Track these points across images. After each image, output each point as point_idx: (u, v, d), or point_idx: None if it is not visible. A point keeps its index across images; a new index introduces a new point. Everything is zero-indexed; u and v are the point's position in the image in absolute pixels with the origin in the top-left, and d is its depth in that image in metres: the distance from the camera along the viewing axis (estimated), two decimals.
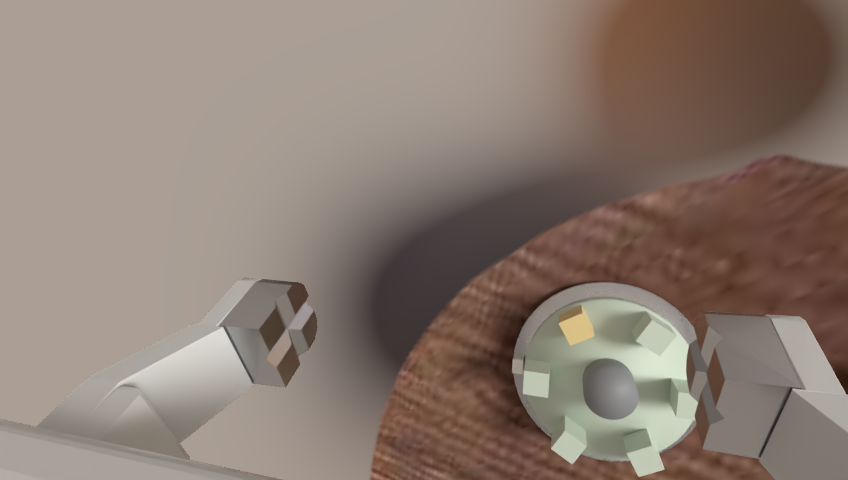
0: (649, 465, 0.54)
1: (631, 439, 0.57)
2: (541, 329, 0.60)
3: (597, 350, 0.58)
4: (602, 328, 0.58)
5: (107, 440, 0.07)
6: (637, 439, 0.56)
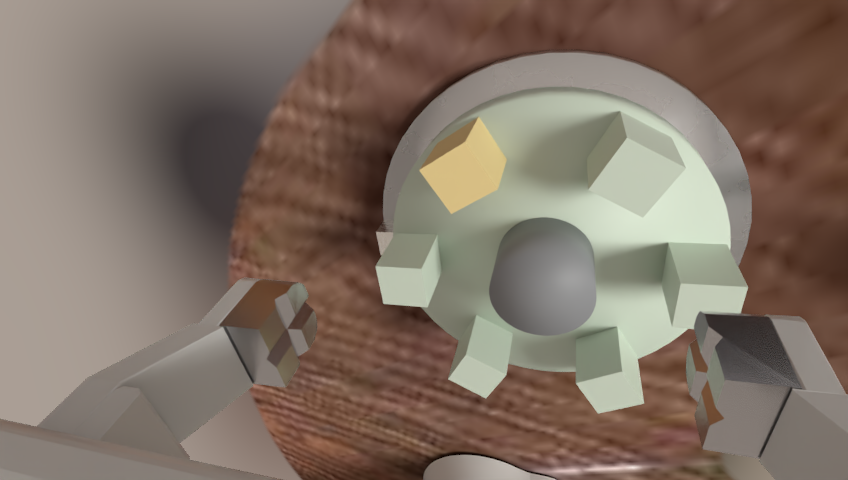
0: (617, 398, 0.29)
1: (588, 350, 0.31)
2: (409, 177, 0.30)
3: (520, 205, 0.28)
4: (527, 160, 0.27)
5: (107, 440, 0.07)
6: (598, 351, 0.31)
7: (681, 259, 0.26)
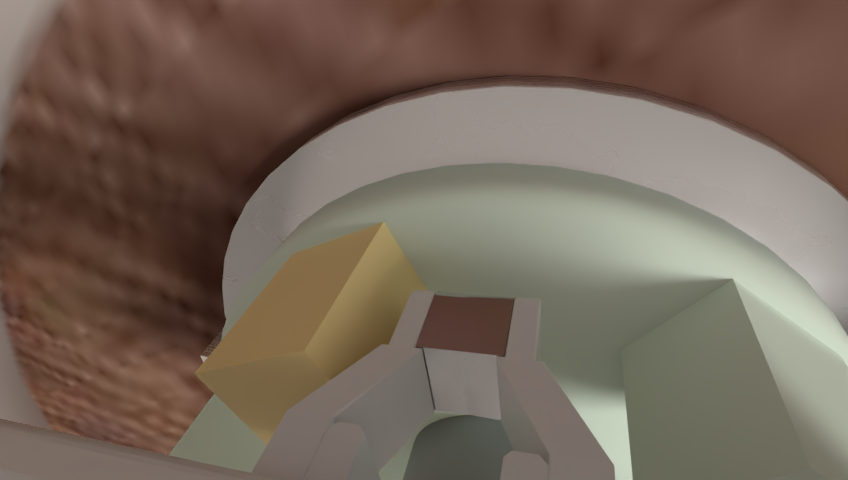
0: None
1: None
2: (241, 299, 0.14)
3: None
4: None
5: None
6: None
7: None
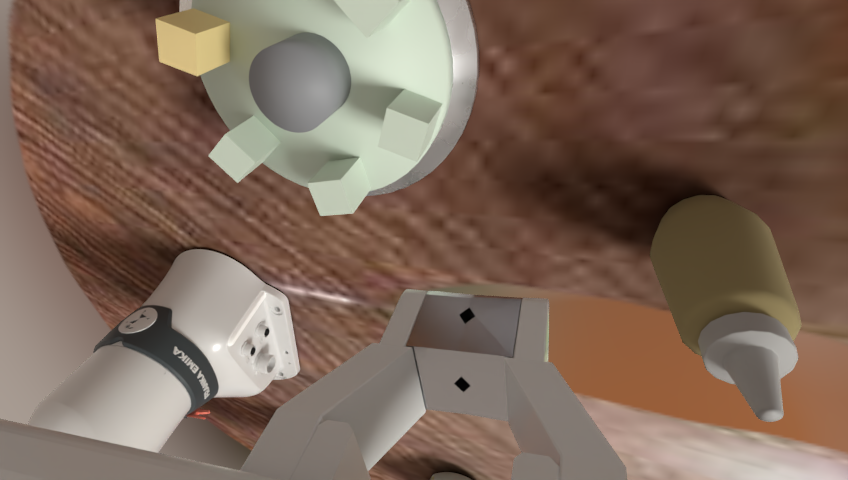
0: (411, 136, 0.32)
1: None
2: (206, 86, 0.38)
3: (265, 47, 0.35)
4: (238, 11, 0.34)
5: None
6: None
7: None
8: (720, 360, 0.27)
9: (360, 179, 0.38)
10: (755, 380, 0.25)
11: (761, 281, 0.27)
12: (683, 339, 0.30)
